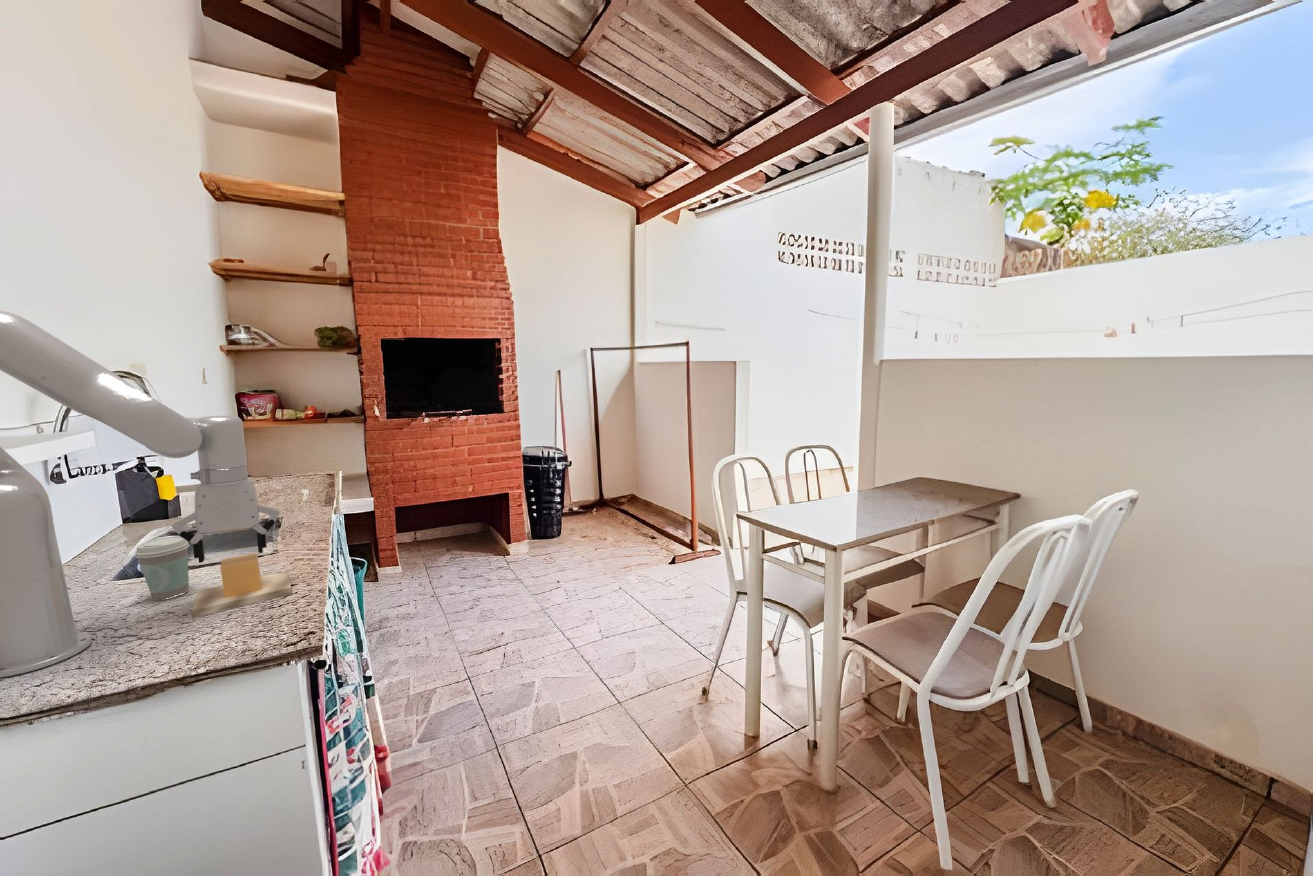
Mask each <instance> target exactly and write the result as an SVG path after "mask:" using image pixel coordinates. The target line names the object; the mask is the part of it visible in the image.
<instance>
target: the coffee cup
mask: <svg viewBox="0 0 1313 876" xmlns="http://www.w3.org/2000/svg"><path fill="white" fill-rule="evenodd" d="M189 547H190V544H189V541H187V540H185V539H184V538H182V537H180V535H176V536H167V537H161V538H156V539H153V540H152V539H151V540H148V541H146V542H145V541H144V542H142V543H140V544H138V545H137V547H136V551H135V553H134V554H135V555H134V556H135V558H137V559H138V563H139V566H140V568H141V571H142V573H143V574H142V575H143V576H144V579H145V582H146V584H147V585H146V586H147V588H148V589H149V593H150V595H151V598H152V600H153V599H154V600H153V601H156V600H160V601H164V600H163V599H166V598H170V597H173V596H175V595H179V594H181V593H184V592H186V591H188V589H189V590H190V585H189V581H190V580H189ZM188 592H189V591H188Z"/></svg>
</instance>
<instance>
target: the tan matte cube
mask: <svg viewBox="0 0 1313 876" xmlns="http://www.w3.org/2000/svg"><path fill="white" fill-rule="evenodd" d="M220 575H221V581H222V585H223V588H224V594H225V598H227V597H232V596H236V595H240V594H245V593H249V592H254V591H258V590H262V580H261V577H262V575H261V569H260V561H259V555H258V552H255V553H251V554H250V553H249V554H244V555H239V556H238V555H237V556H235V557H229V558H223V559H221V563H220Z"/></svg>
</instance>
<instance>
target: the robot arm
mask: <svg viewBox="0 0 1313 876" xmlns="http://www.w3.org/2000/svg"><path fill="white" fill-rule="evenodd" d="M0 371H1V372H3V373H5V374H7V375H8V376H10V377H12V378H14V379H16V380H17V381H19V382H21V383H23V384H25V385H27V386H28V387H30V388H32V389H33V390H35V391H38V392H39V393H41V394H43V395H45V396H47V397H48V398H50V399H52V400H54V401H56V402H57V403H59V404H61V405H63V406H65V407H66V408H68V409H70V410H71V411H74V412H76V413H78V414H81V415H84V416H87V417H89V418H92V419H93V420H96V421H98V422H100V423H102V424H104V425H106V426H107V427H109V428H112V429H113V430H115V431H117V432H119V433H121V434H123V435H124V436H126V437H128V438H130V439H131V440H133V441H135V442H136V443H139V444H141V445H143V446H144V447H145V448H147V449H148V450H149V451H151V452H153V453H155V454H158V455H160V456H161V457H165V458H168V459H182V458H186V457H189V456H191V455H192V454H195V453H196V452H197V456H198V466H199V467H198V468H199V469H198V470H197V471H195V472H190V474H189V475H190V480H197V481H200V483H198V484H197V485H196V486H195V489H194V490H195V491H194V512H193V513H191V514H188V515H187V516H185V517H183V518H181V519H179V520H177V521H175V522H173V524H172V525H171V528H172V529H173V530H174V531H175V532H176V533H177V534H178V536H180V537H182V538H184V539H185V540H186V541H187V542H188V543H190V544H191V545H192V549H193V558H194V559H198V563H199V564H200V563H203V562H204V561H205V558H206V557H205V555H206V554H205V548H204V540H202V538H203V537H204V536H205V535H211V534H219V533H225V532H226V533H228V532H233V531H241V530H249V529H253V530H255V531H256V532H257V533H256V540H257V550H258V552H257V553H259V554H262V553H264V552H263V549H265V548H267V536H266V533H267V532H268V531H269V530H270V529H271V528H272V527H273V526H274V525H275V523H276V522H277V520H278V518H279V516H280V510H278V509H275V508H272V507H269V506H265V505H262V504H259V502H258V497H257V491H256V488H255V484H254V482H253V479H251V478H249V477H248V475H249V474H248V465H247V464H248V463H247V455H246V454H247V453H246V445H245V433H244V432H245V430H244V424H243V420H242V419H241V418H240V417H239V416H236V415H210V416H209V415H208V416H202V417H186V416H183V415H182V414H180V413H178V412H176V411H175V410H173V409H172V408H171V407H169V406H167V405H165V404H164V403H162V402H161V401H159V400H157V399H156V398H153V397H152V396H150V395H148V394H147V393H145V391H144V392H143V391H142V390H140V389H139V388H137V387H135V386H134V385H132V384H131V383H130V382H128V381H126V380H125V379H124V378H122V377H120V376H119V375H118V374H116V373H114V372H113V371H111V370H110V369H107V368H106V367H105V366H103V365H101V364H99V363H98V362H97V361H95V360H93V359H92V358H90V357H88V356H86V355H85V354H83V353H82V352H80V351H78V349H75V348H74V347H72V346H70V345H69V344H67V343H65V342H64V341H62V340H60V339H59V338H57V337H55V336H54V335H53V334H51V333H50V332H48V331H46V330H45V329H43V328H41V327H40V326H38V325H36V324H34V323H33V322H31V321H30V320H28V319H26V318H24V317H22V316H21V315H18V314H15V313H13V312H9V311H4V310H0ZM48 495H49V494H48V492H47V491H46V488H45V487H44V486H43V485H42V483H41V481H39V480H38V479H37V478H36V477H35V476H34V475H33V474H31V472H29V471H28V470H27V469H26V468H25V467H24V466H23V465H21V464H20V463H19V462H18V461H17V460H16V459H15V458H14V457H13V456H11V455H10V454H9V453H8V452H7V451H6V450H5V449H3V447H1V446H0V678H5V677H12V676H16V675H21V674H25V673H26V674H27V673H29V672H33V671H36V670H39V669H43V668H45V667H49V666H52V665H54V664H56V663H60V662H62V661H65V660H66V659H69V658H71V657H73V656H75V655H77V654H78V653H81V652H82V651H83V650H85V649H87V648H88V647H89V646H90V645H91V644H92V640H93V639H92V637H91V634H90V633H87V632H82V631H81V632H79V631H77V628H76V624H75V623H76V621H75V617H74V614H73V609H72V604H71V599H70V595H69V591H68V586H67V581H66V575H65V571H64V567H63V563H62V558H61V553H60V549H59V545H58V540H57V536H56V529H55V523H54V519H53V518H54V517H53V511H52V506H51V502H50V498H49V496H48ZM260 513H261V514H266V515H269V516H270V517H268V520H266V521H265V523H264V524H262V522H260ZM193 521H194V523H195V530H196V532H195V533H193V532H191V531H190V530H188V529H186V528H185V526H187V525H188V524H190V523H192V522H193Z"/></svg>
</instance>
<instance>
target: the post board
mask: <svg viewBox="0 0 1313 876" xmlns="http://www.w3.org/2000/svg"><path fill="white" fill-rule="evenodd" d="M289 572H290V571H289V570H286V571H284V570H283V571H280V572H277V573H272V574H267V575H261V580H262V590H258V591H254V592H249V593H245V594H240V595H236V596H232V597H227V598H225V594H224V588H223V584H221V585H216V586H213V587H207V588H204V589H198V590H197V592H196V595H195V599H194V601H193V604H192V605H193V606H192V609H191V613H192V618H194V617H195V618H197V617H198V616H199V617H203V616H207V615H211V614H215V613H219V612H223V611H227V610H231V609H236V608H239V607H244V606H247V604H248V605H252V604H256V603H255V602H257V603H259V602H264V600H265V601H268V600H272V599H276V598H281V597H285V596H288V595H289V596H290V595H292V593H293V591H292V586H291V584H292V583H291V577H290V573H289ZM235 607H236V608H235Z"/></svg>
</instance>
